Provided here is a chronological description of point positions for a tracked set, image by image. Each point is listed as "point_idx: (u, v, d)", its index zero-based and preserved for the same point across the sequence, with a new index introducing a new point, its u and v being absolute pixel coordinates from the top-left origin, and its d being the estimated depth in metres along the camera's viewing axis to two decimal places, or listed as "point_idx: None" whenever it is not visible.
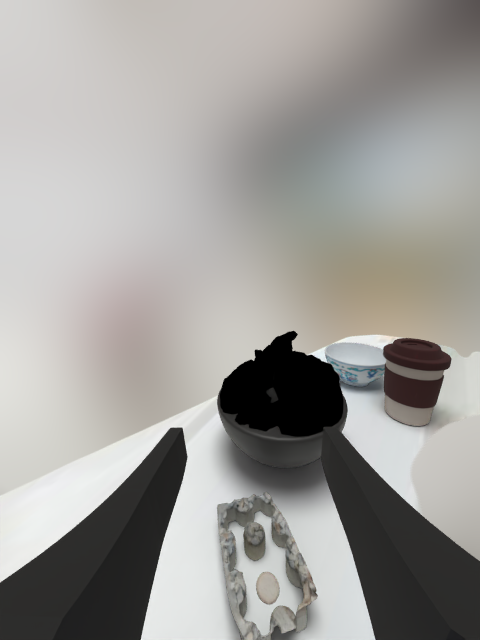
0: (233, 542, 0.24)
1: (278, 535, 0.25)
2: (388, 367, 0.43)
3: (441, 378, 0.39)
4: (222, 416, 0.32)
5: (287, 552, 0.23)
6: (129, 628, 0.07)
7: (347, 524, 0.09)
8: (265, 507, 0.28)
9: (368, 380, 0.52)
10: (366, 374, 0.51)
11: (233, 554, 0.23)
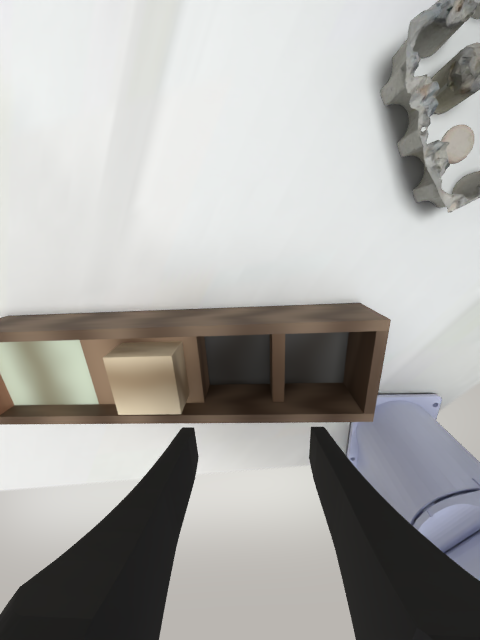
0: (433, 98, 0.13)
1: None
2: None
3: None
4: None
5: None
6: (149, 629, 0.07)
7: (331, 524, 0.09)
8: None
9: None
10: None
11: None
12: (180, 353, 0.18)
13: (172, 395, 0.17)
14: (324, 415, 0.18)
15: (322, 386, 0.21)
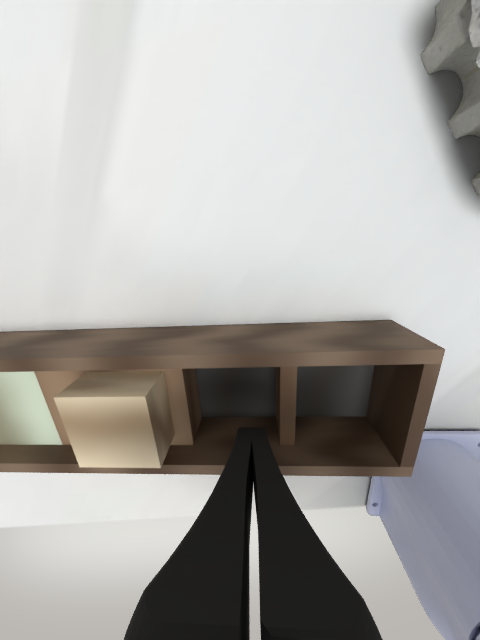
0: None
1: None
2: None
3: None
4: None
5: None
6: (247, 634, 0.06)
7: (257, 522, 0.09)
8: None
9: None
10: None
11: None
12: (160, 387, 0.13)
13: (148, 444, 0.13)
14: (347, 468, 0.14)
15: (341, 421, 0.17)
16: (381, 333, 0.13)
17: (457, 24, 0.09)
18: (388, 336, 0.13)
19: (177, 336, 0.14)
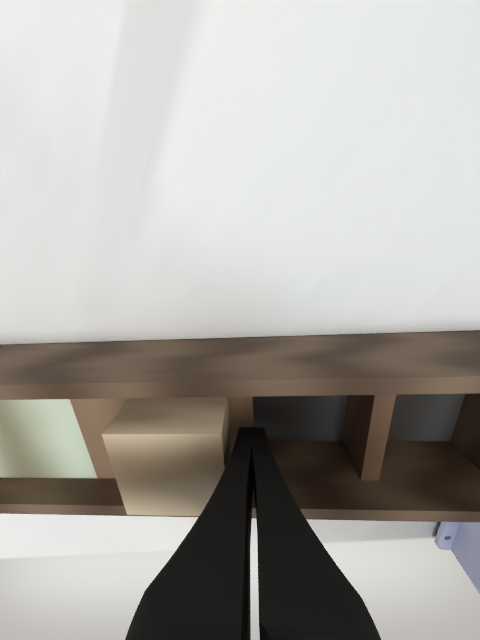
0: None
1: None
2: None
3: None
4: None
5: None
6: (248, 634, 0.06)
7: None
8: None
9: None
10: None
11: None
12: (226, 416, 0.11)
13: None
14: (455, 513, 0.11)
15: (423, 448, 0.15)
16: None
17: None
18: None
19: (243, 351, 0.12)
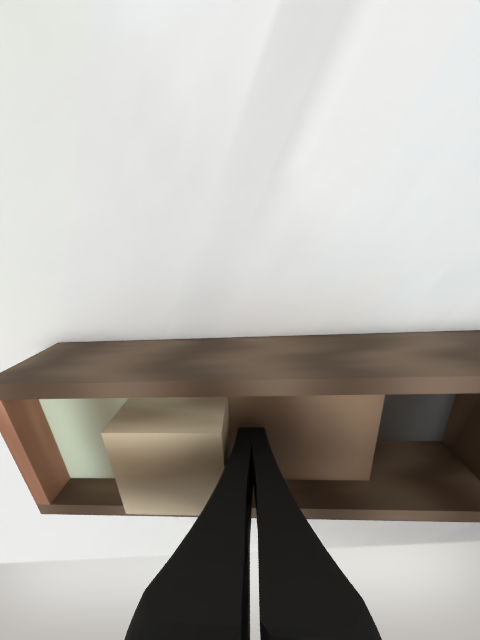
0: None
1: None
2: None
3: None
4: None
5: None
6: (248, 634, 0.06)
7: (257, 522, 0.09)
8: None
9: None
10: None
11: None
12: (226, 415, 0.11)
13: None
14: None
15: None
16: None
17: None
18: None
19: (370, 348, 0.11)
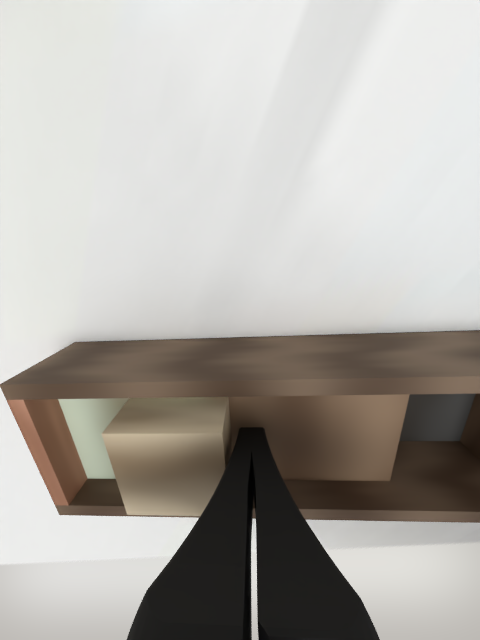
0: None
1: None
2: None
3: None
4: None
5: None
6: (250, 634, 0.06)
7: None
8: None
9: None
10: None
11: None
12: (227, 415, 0.11)
13: None
14: None
15: None
16: None
17: None
18: None
19: (394, 347, 0.11)
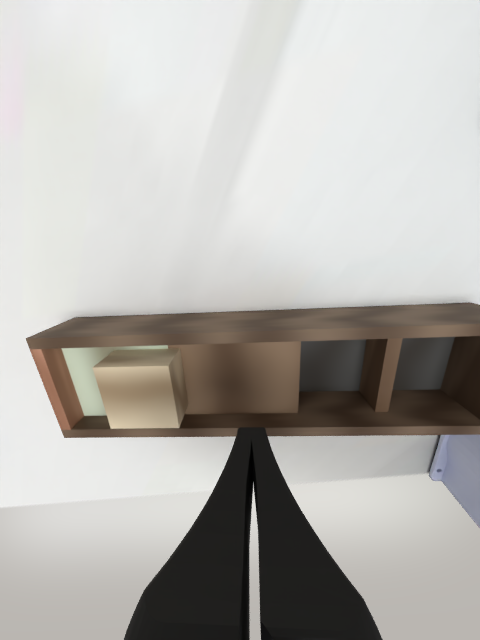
0: None
1: None
2: None
3: None
4: None
5: None
6: (247, 634, 0.06)
7: (257, 522, 0.09)
8: None
9: None
10: None
11: None
12: (178, 361, 0.16)
13: (169, 407, 0.15)
14: (441, 427, 0.16)
15: (420, 393, 0.19)
16: (474, 312, 0.16)
17: None
18: None
19: (292, 316, 0.17)
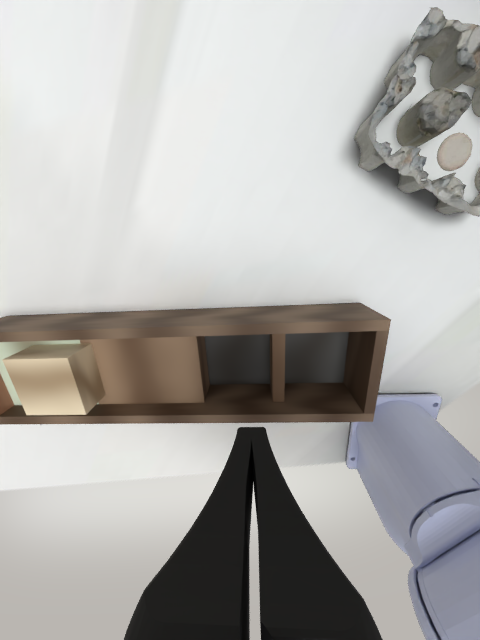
0: (418, 155, 0.14)
1: (473, 73, 0.13)
2: None
3: None
4: None
5: None
6: (247, 634, 0.06)
7: (257, 522, 0.09)
8: (418, 50, 0.13)
9: None
10: None
11: None
12: (87, 355, 0.18)
13: (74, 395, 0.17)
14: (324, 415, 0.18)
15: (322, 386, 0.21)
16: (349, 311, 0.17)
17: (376, 157, 0.14)
18: (353, 312, 0.17)
19: (192, 315, 0.18)
